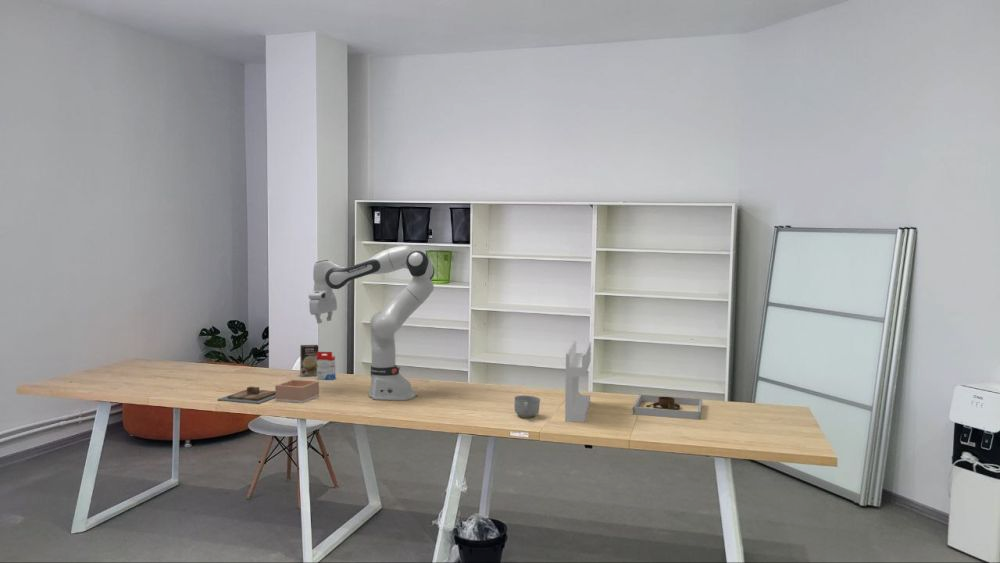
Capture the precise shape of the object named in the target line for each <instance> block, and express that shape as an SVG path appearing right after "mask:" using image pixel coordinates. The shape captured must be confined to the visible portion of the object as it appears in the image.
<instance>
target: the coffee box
mask: <svg viewBox="0 0 1000 563" xmlns="http://www.w3.org/2000/svg"><path fill="white" fill-rule="evenodd" d="M299 349H300V352H299V353H300V355H299V357H300V360H299V361H300V362H299V365H300V367H299V368H300V371H299V372H300V374H299V375H300V377H301V378H304V377H307V378H308V377H317V352H319V345H318V344H300V348H299Z"/></svg>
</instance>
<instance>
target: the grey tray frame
mask: <svg viewBox="0 0 1000 563" xmlns="http://www.w3.org/2000/svg"><path fill="white" fill-rule="evenodd" d="M659 397H672V398H674V399H675V401H674V403H676V404H678V405H684V406H685V405H686V406H687V405H688V406H698V410H697V411H693V410H680V409H679V410H669V409H656V408H654V407H643V406H640V405H641V402H645V403H646V402H647V403H657V402H659ZM702 409H703V398H695V397H682V396H667V395H654V394H642V393H641V394H640V393H639V395H638V396H637V399H636V400H635V402H634V404H633V406H632V415H640V416H650V417H651V416H652V417H663V418H664V417H665V418H677V419H691V420H701V416H702V411H703V410H702Z"/></svg>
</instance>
